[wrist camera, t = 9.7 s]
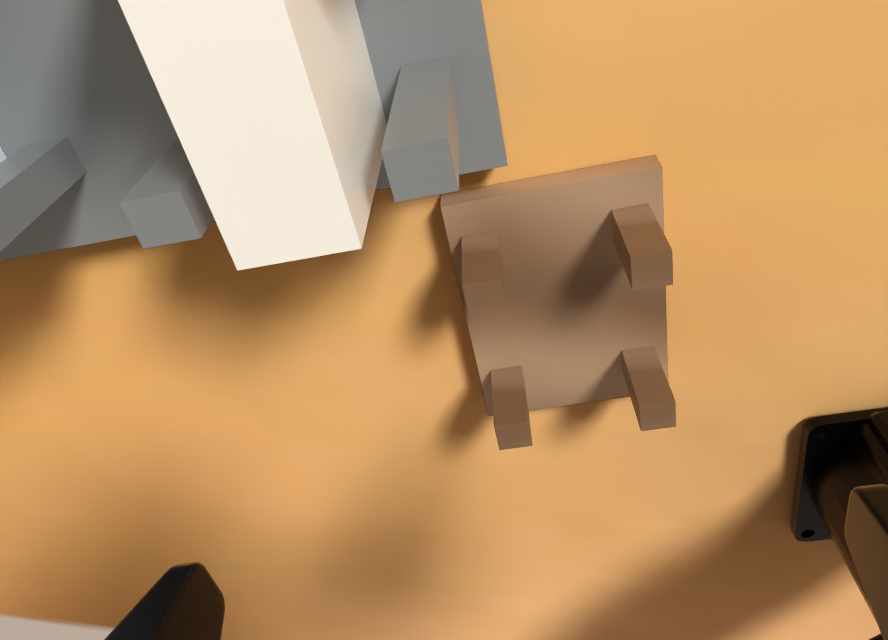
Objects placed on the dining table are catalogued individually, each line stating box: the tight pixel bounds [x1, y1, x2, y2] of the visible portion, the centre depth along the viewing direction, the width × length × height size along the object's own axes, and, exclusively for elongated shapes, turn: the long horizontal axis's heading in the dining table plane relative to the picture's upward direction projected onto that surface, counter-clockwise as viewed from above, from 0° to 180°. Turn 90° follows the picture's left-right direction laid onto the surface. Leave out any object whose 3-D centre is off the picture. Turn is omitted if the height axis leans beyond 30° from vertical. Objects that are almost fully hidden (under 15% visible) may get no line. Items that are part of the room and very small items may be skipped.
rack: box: [0, 0, 508, 261], centre depth 15 cm, size 10×18×7 cm, turn 102°
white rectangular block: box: [118, 0, 387, 271], centre depth 13 cm, size 7×2×6 cm, turn 12°
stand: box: [440, 155, 676, 450], centre depth 20 cm, size 8×6×3 cm
